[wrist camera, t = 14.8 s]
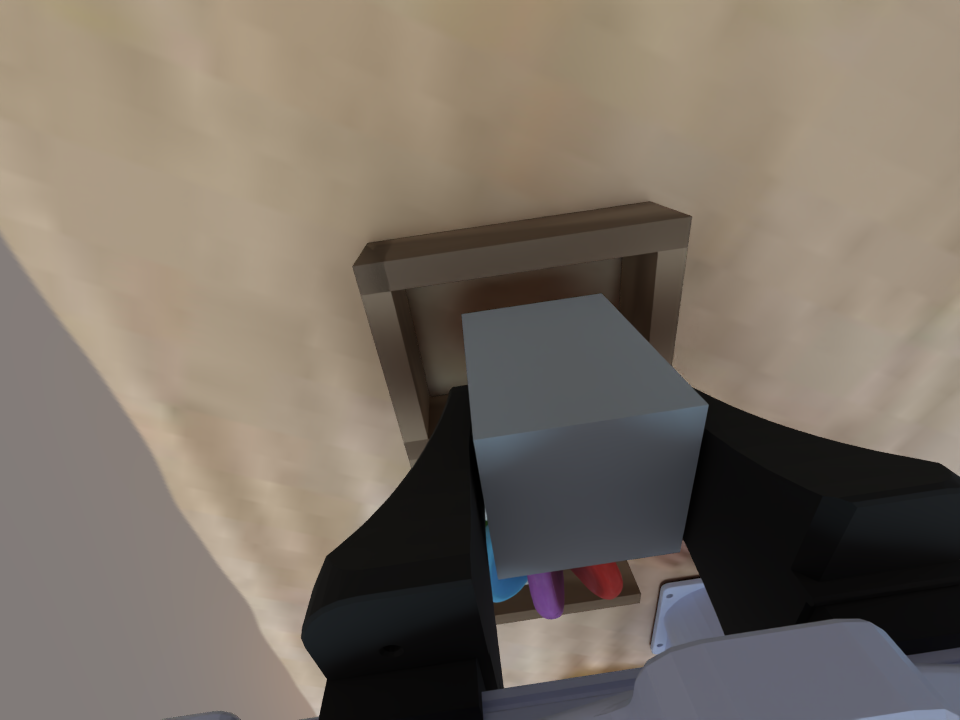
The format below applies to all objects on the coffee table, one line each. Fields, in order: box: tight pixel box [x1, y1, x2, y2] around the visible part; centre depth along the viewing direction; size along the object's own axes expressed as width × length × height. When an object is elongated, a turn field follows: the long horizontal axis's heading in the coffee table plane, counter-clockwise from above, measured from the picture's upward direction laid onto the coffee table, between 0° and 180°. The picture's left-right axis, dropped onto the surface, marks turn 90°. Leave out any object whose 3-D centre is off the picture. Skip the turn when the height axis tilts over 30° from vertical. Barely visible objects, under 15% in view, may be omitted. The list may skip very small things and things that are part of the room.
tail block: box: [461, 293, 709, 580], centre depth 11 cm, size 4×4×6 cm
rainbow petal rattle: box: [485, 509, 623, 619], centre depth 20 cm, size 8×10×7 cm
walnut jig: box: [352, 202, 692, 625], centre depth 20 cm, size 22×11×3 cm, turn 7°
